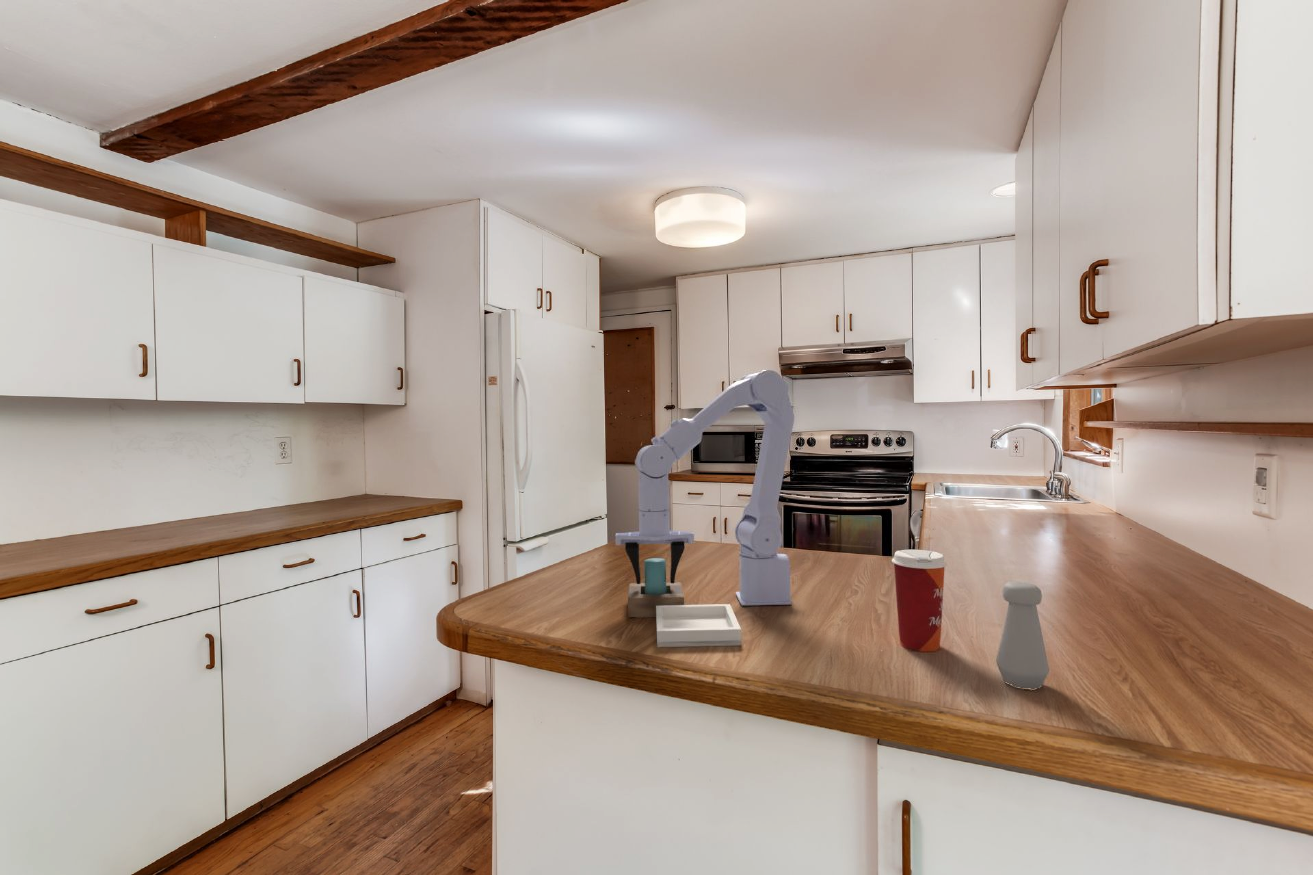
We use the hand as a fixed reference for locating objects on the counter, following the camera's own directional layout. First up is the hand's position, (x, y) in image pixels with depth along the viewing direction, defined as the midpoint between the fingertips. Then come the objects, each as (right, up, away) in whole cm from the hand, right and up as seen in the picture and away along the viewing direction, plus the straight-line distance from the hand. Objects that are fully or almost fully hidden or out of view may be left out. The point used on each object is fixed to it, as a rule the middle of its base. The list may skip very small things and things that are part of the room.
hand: (655, 582), depth 112 cm
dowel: (0, -5, 0) cm, 5 cm away
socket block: (0, -5, 0) cm, 5 cm away
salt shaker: (+47, -5, -34) cm, 59 cm away
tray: (+7, -5, -13) cm, 15 cm away
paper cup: (+40, -5, -20) cm, 45 cm away
